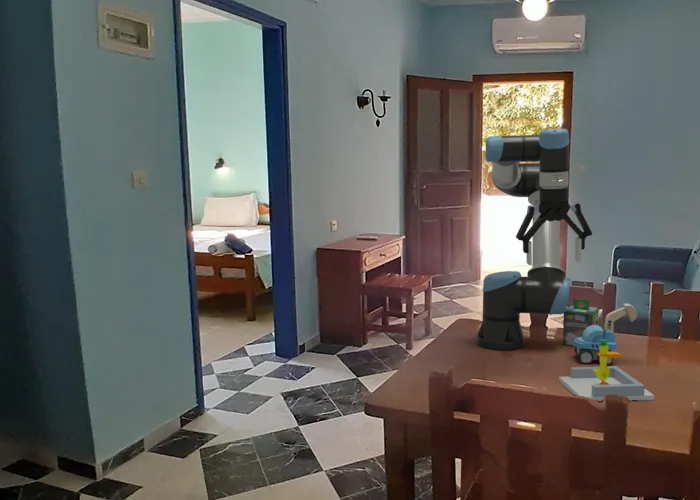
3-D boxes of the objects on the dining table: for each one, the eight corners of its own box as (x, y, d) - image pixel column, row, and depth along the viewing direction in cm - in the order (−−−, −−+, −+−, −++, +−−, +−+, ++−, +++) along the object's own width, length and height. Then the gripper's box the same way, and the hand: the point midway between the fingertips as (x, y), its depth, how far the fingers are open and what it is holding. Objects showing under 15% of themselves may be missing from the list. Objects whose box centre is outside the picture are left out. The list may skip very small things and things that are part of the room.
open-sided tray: (581, 402, 154) (582, 387, 153) (559, 381, 169) (559, 367, 168) (653, 399, 154) (654, 385, 154) (625, 379, 169) (625, 365, 169)
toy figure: (616, 383, 163) (618, 338, 161) (621, 388, 159) (623, 342, 158) (589, 382, 163) (591, 337, 162) (593, 387, 160) (595, 341, 158)
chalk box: (598, 342, 204) (600, 297, 202) (591, 349, 196) (593, 302, 194) (569, 338, 209) (570, 294, 207) (561, 344, 202) (563, 299, 200)
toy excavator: (637, 367, 179) (640, 308, 177) (576, 364, 182) (578, 306, 180) (630, 358, 187) (633, 301, 185) (571, 355, 191) (573, 300, 188)
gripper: (511, 191, 167) (512, 268, 172) (605, 185, 167) (603, 262, 171) (504, 188, 175) (505, 262, 179) (595, 182, 174) (593, 256, 179)
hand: (553, 262), depth 175 cm, fingers open, 13 cm apart
